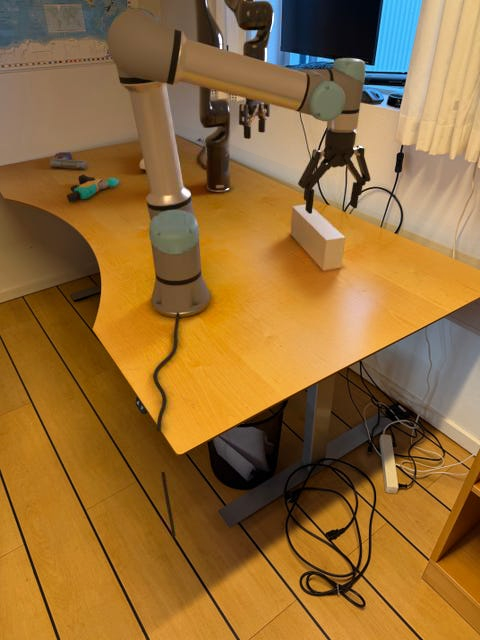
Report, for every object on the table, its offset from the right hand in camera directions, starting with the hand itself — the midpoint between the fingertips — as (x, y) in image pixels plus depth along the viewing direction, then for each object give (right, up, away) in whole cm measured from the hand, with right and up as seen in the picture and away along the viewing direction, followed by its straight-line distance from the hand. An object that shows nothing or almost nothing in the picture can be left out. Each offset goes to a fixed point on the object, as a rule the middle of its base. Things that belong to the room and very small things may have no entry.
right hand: (254, 135), depth 154 cm
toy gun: (-82, +11, +64) cm, 105 cm away
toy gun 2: (-67, -9, +36) cm, 76 cm away
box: (+19, -38, -5) cm, 43 cm away
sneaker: (-42, +11, +64) cm, 77 cm away
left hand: (+20, -29, -22) cm, 42 cm away
